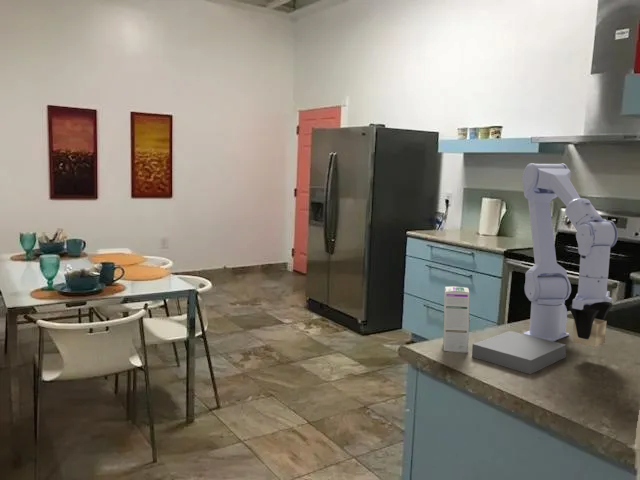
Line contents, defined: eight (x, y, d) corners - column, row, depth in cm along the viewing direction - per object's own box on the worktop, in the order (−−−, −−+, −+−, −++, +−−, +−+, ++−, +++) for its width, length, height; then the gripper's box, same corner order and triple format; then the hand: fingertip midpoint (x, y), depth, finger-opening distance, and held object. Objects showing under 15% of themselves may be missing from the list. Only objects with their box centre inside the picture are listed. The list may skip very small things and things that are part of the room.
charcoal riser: (509, 342, 136) (509, 330, 136) (565, 357, 126) (566, 344, 125) (471, 356, 125) (472, 344, 125) (530, 374, 115) (530, 360, 115)
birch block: (582, 337, 127) (583, 316, 126) (604, 342, 123) (606, 320, 123) (572, 341, 124) (573, 320, 123) (595, 347, 120) (597, 325, 119)
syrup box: (468, 353, 128) (471, 291, 126) (442, 351, 129) (444, 290, 127) (467, 345, 133) (469, 286, 132) (442, 343, 135) (444, 285, 133)
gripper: (598, 283, 114) (593, 346, 116) (625, 274, 123) (620, 333, 125) (564, 277, 119) (560, 338, 121) (593, 269, 128) (588, 326, 130)
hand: (588, 335), depth 123 cm, fingers closed on birch block, 5 cm apart
